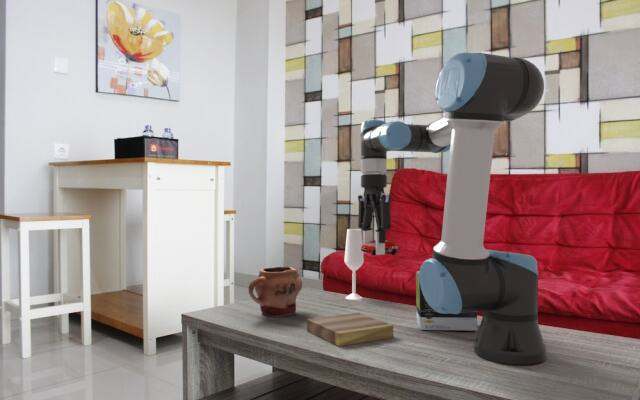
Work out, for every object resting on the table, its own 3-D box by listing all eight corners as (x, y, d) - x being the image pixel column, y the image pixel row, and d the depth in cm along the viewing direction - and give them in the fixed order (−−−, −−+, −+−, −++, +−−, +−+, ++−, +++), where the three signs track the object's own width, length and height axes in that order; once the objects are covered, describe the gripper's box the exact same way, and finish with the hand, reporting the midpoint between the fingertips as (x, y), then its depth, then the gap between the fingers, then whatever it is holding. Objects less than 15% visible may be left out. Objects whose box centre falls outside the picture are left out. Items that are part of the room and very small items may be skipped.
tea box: (470, 323, 143) (470, 270, 143) (477, 332, 133) (477, 275, 133) (415, 321, 145) (415, 269, 145) (419, 330, 135) (419, 274, 135)
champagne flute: (354, 301, 173) (354, 230, 173) (340, 298, 178) (340, 229, 178) (367, 298, 177) (367, 229, 177) (353, 295, 182) (353, 228, 182)
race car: (368, 256, 145) (370, 242, 145) (356, 251, 149) (358, 238, 149) (401, 255, 153) (403, 242, 153) (389, 251, 157) (390, 238, 157)
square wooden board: (393, 337, 128) (393, 325, 128) (338, 346, 120) (338, 333, 120) (358, 323, 142) (358, 312, 142) (307, 330, 134) (307, 319, 134)
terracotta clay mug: (267, 325, 141) (267, 274, 141) (236, 318, 148) (236, 270, 148) (312, 312, 156) (312, 266, 156) (282, 307, 164) (282, 263, 164)
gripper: (403, 172, 143) (404, 255, 143) (366, 175, 160) (366, 250, 160) (381, 172, 140) (382, 257, 140) (346, 175, 156) (346, 251, 156)
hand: (373, 253), depth 150 cm, fingers closed on race car, 6 cm apart
